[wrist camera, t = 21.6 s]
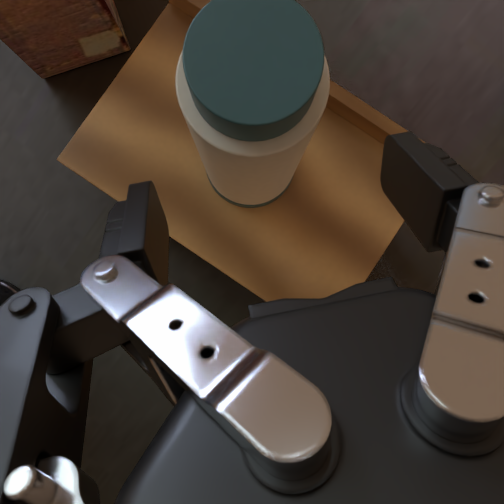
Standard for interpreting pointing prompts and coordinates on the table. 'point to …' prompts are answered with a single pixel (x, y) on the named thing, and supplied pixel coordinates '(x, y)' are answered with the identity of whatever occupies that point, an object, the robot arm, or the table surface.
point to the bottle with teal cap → (252, 94)
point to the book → (61, 32)
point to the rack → (231, 216)
